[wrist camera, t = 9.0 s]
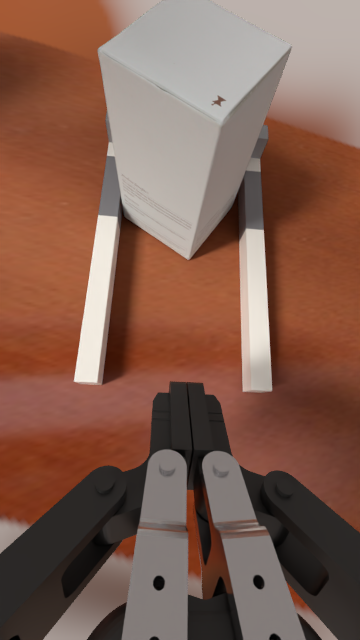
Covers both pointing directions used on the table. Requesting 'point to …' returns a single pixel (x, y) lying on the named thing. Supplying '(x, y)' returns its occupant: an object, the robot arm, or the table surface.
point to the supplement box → (187, 114)
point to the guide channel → (251, 277)
